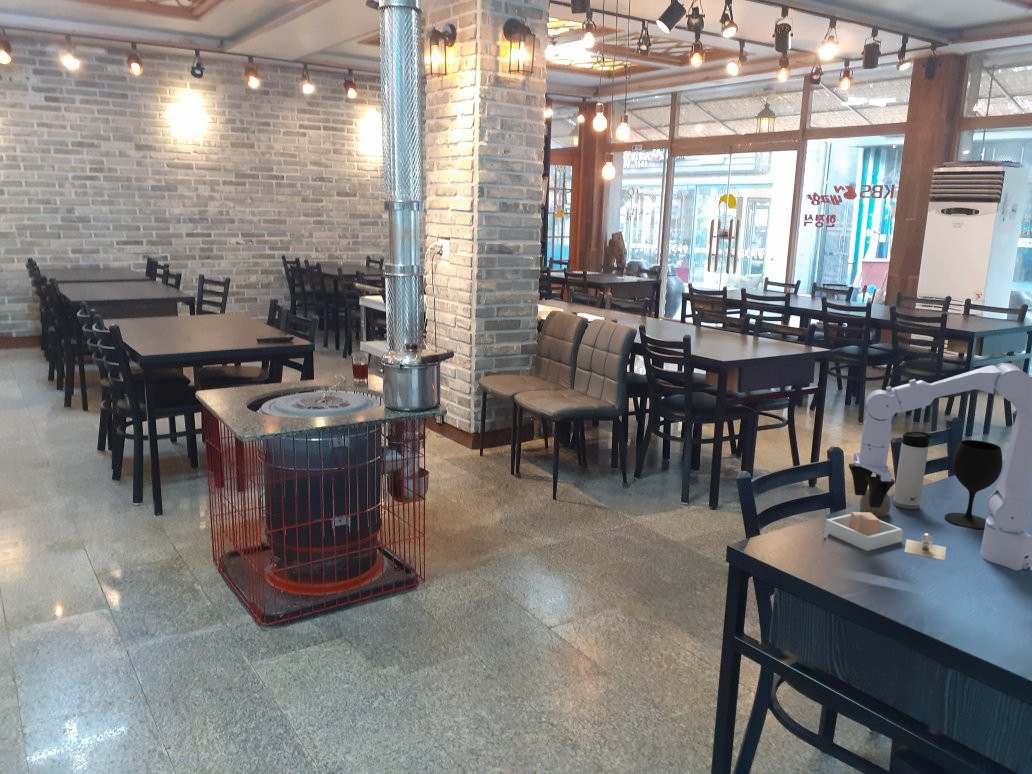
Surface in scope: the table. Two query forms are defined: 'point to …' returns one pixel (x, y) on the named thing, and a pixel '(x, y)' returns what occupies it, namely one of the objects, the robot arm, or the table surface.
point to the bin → (842, 531)
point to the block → (864, 523)
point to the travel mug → (911, 469)
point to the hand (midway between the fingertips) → (867, 500)
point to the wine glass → (975, 476)
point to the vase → (876, 512)
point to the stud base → (925, 547)
